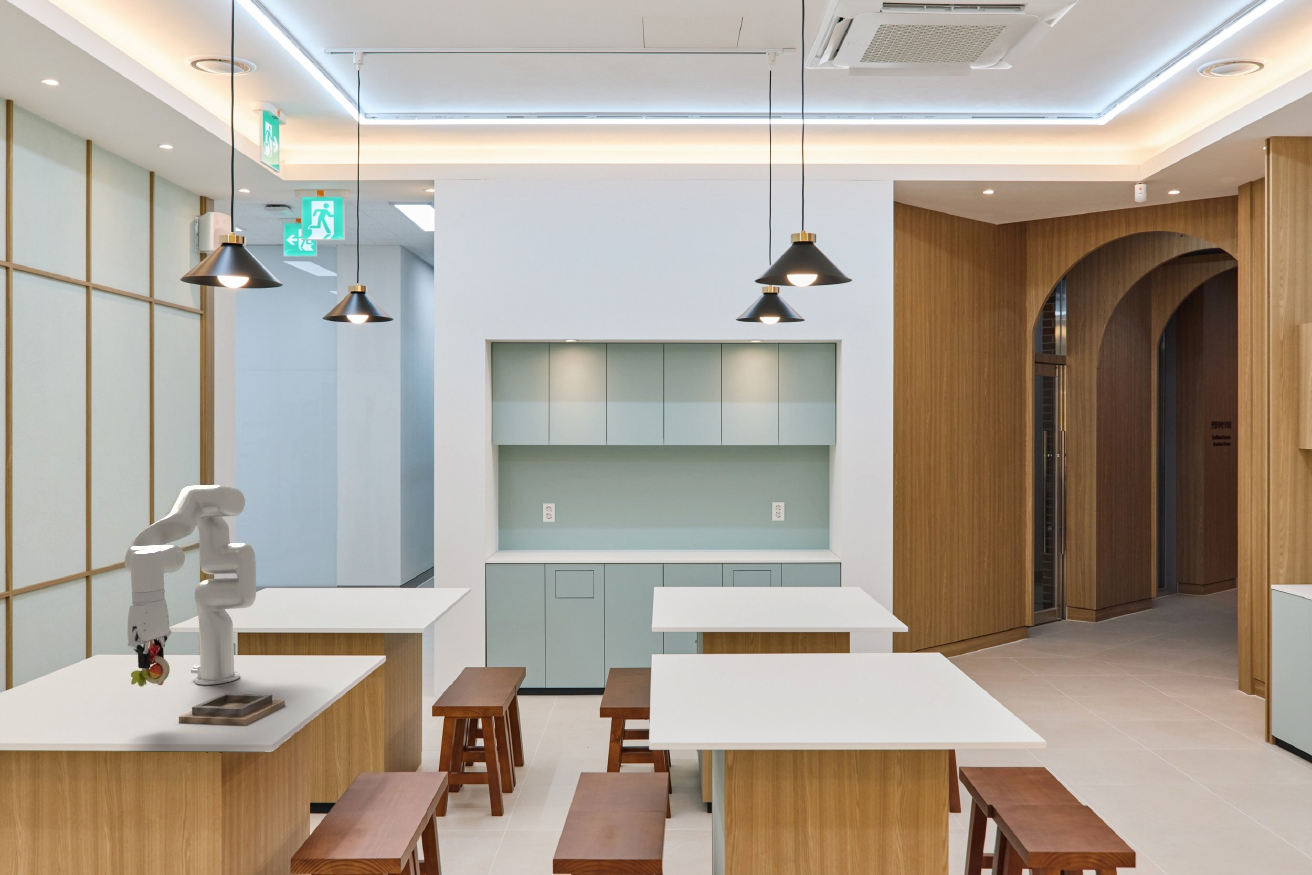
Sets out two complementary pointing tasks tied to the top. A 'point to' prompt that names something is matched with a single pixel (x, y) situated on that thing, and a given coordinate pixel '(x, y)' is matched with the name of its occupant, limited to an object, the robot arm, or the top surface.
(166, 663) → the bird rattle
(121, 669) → the top surface
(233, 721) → the wooden tray
